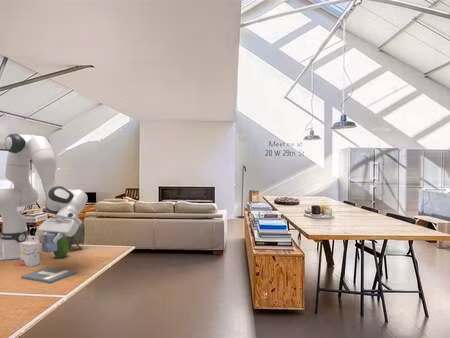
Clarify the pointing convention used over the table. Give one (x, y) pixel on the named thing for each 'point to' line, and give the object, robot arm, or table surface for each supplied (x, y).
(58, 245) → the fruit
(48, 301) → the table surface
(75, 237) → the olive bag
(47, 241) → the slate-blue block
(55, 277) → the letter board
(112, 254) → the table surface
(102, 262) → the table surface
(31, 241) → the ink cartridge box
